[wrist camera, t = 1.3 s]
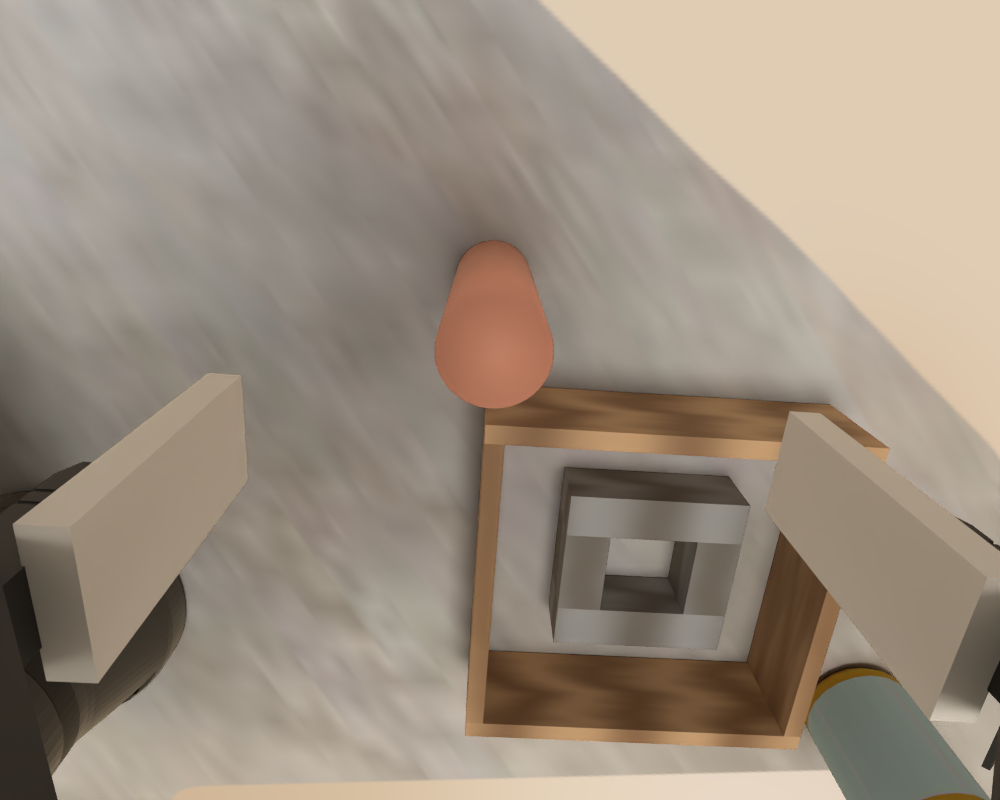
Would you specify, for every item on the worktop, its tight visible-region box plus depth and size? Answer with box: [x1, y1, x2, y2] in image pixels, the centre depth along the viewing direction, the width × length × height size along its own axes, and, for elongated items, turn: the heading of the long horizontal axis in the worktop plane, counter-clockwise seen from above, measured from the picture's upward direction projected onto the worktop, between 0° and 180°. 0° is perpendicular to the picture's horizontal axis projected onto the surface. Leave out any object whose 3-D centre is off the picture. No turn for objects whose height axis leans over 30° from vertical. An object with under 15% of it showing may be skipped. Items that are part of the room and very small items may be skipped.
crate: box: [465, 387, 890, 749], centre depth 38 cm, size 20×20×6 cm
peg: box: [435, 241, 554, 408], centre depth 28 cm, size 4×4×14 cm
